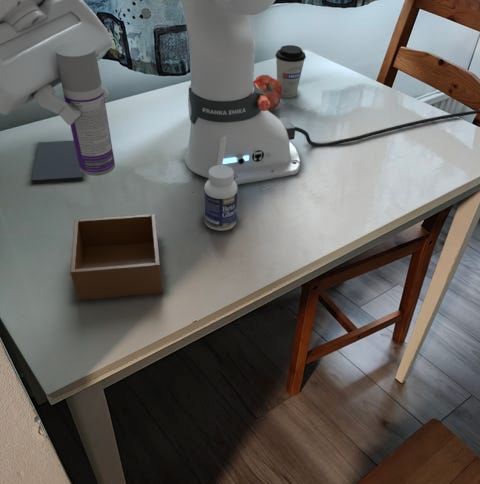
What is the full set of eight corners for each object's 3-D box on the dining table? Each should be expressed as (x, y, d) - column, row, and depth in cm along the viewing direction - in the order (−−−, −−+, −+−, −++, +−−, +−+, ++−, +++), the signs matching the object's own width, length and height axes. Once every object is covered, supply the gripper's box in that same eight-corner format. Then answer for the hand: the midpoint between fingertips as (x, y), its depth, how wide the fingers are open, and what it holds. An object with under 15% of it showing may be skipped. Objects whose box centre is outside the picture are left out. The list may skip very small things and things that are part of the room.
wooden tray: (157, 241, 85) (155, 213, 81) (162, 292, 77) (159, 264, 73) (81, 247, 84) (74, 219, 80) (77, 300, 75) (70, 272, 71)
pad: (85, 142, 106) (84, 139, 106) (83, 180, 97) (82, 177, 96) (39, 144, 105) (38, 142, 105) (32, 183, 96) (31, 180, 95)
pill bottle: (225, 235, 87) (225, 184, 80) (198, 224, 89) (197, 173, 82) (242, 219, 90) (244, 169, 83) (216, 209, 92) (216, 158, 85)
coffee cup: (268, 88, 127) (272, 44, 120) (296, 86, 128) (301, 42, 121) (277, 100, 122) (281, 55, 115) (305, 98, 124) (310, 53, 116)
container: (81, 157, 72) (57, 41, 61) (116, 157, 73) (98, 41, 62) (77, 176, 69) (51, 57, 58) (113, 175, 69) (94, 57, 58)
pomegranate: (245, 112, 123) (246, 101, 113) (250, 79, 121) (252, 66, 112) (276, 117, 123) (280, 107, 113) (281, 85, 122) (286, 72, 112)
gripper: (-58, 17, 51) (48, 133, 56) (70, -32, 64) (147, 66, 69) (-74, 56, 56) (25, 161, 60) (48, 3, 69) (122, 93, 73)
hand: (91, 110), depth 65 cm, fingers closed on container, 4 cm apart
